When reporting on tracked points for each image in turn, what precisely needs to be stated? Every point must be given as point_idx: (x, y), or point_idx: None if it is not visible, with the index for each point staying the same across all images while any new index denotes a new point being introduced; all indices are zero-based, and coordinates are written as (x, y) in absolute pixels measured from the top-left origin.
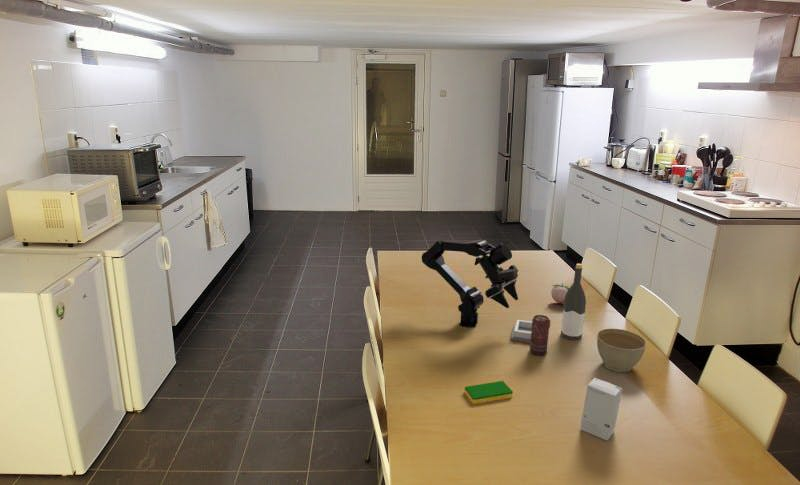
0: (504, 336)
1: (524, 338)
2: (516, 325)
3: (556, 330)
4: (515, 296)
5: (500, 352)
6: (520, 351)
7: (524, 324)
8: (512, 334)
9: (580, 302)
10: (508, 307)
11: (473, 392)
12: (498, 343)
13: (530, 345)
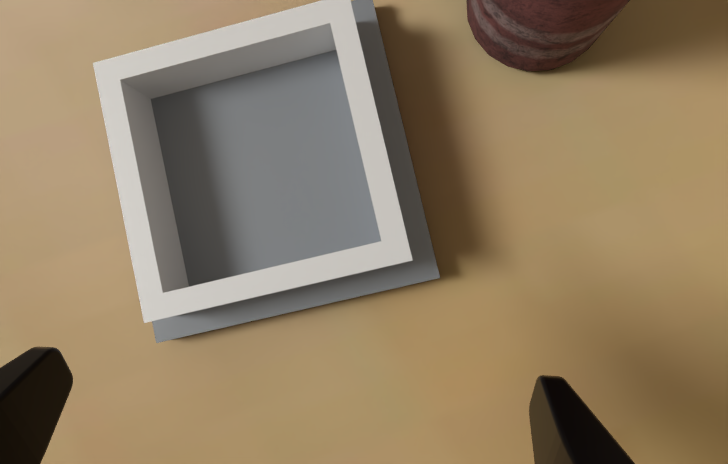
0: (404, 347)
1: (393, 169)
2: (278, 284)
3: (71, 14)
4: (8, 424)
5: (716, 272)
6: (599, 135)
7: (166, 243)
8: (374, 286)
9: None
10: (562, 386)
11: None
12: (563, 346)
13: (589, 40)
